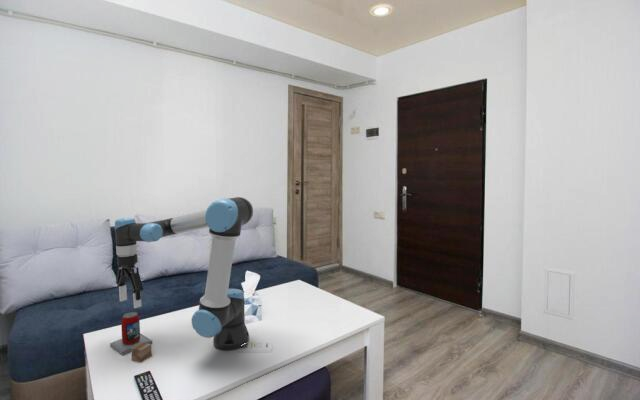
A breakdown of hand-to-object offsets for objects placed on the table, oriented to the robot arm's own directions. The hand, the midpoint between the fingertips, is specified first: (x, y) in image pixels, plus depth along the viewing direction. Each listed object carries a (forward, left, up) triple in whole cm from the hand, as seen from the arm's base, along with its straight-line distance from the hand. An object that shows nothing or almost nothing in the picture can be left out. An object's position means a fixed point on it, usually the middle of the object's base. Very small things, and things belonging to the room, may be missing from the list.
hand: (130, 303), depth 142 cm
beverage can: (0, 0, -17) cm, 17 cm away
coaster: (0, 0, -18) cm, 18 cm away
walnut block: (-14, +2, -19) cm, 23 cm away
